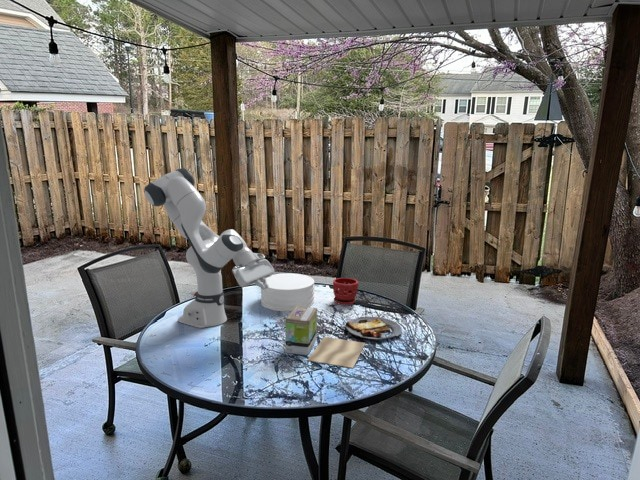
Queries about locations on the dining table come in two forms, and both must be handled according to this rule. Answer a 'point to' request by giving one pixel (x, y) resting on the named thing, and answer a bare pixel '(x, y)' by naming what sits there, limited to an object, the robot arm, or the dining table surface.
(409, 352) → the dining table surface
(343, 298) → the plant pot
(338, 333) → the dining table surface
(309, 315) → the tea box
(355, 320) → the food plate
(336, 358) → the cloth mat
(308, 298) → the plate stack
